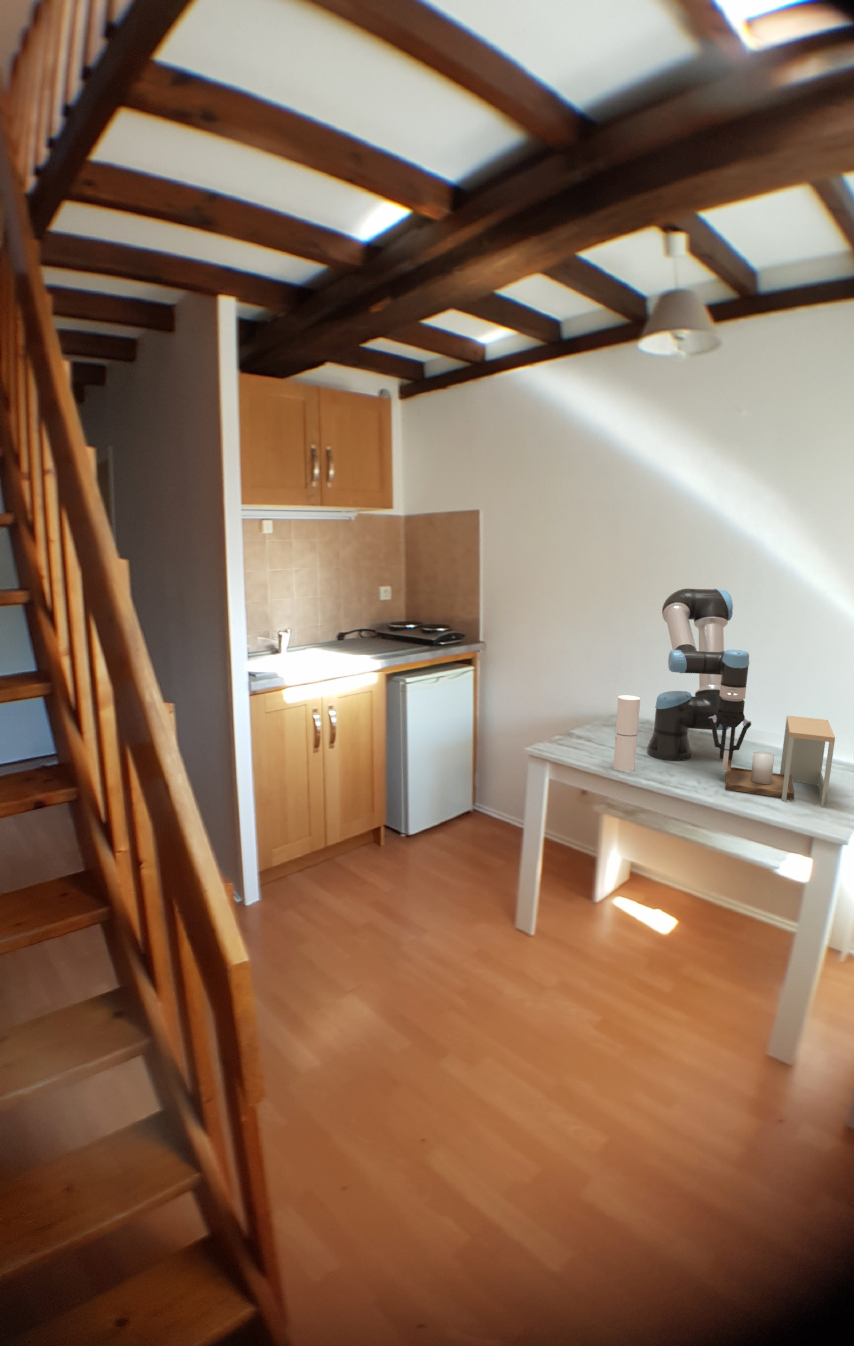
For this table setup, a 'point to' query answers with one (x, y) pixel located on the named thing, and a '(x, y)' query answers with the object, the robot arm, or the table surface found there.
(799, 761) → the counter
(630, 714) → the cylindrical container
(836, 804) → the table surface
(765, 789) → the tray
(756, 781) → the beige rounded cylinder
